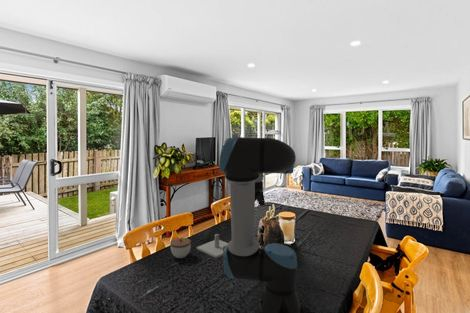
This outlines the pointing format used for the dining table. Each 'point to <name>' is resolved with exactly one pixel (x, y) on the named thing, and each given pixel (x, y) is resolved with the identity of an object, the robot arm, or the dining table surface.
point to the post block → (213, 247)
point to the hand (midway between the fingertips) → (255, 220)
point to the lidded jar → (180, 247)
